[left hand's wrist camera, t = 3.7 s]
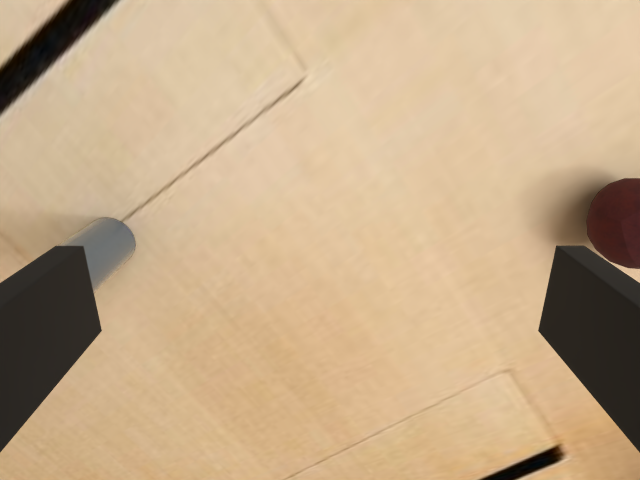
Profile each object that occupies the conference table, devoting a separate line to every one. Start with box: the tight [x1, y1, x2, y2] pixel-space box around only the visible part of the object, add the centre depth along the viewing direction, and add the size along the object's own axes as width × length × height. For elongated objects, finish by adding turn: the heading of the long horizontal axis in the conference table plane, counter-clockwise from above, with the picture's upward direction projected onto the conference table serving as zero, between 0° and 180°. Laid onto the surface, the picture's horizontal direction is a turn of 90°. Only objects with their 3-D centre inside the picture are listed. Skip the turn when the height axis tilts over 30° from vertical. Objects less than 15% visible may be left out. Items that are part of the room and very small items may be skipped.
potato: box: [587, 178, 640, 269], centre depth 37 cm, size 7×8×7 cm
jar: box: [58, 218, 135, 293], centre depth 35 cm, size 5×5×16 cm
